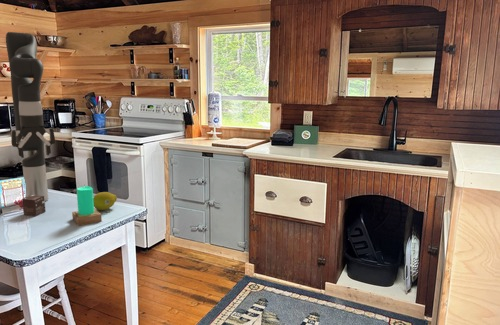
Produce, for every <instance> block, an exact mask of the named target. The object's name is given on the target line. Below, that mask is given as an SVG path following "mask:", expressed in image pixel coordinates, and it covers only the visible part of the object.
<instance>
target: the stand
mask: <svg viewBox="0 0 500 325" xmlns="http://www.w3.org/2000/svg"><path fill="white" fill-rule="evenodd" d="M71 214H72V220H73V221H74V222H75V224H76V225H77V226H78V227H80V226H83V225H90V224H95V223H98V222H102V213H100V212H99V210H97V209H96V208H95V207H94V213H93V214H90V215H79V214H78V210H77V211H72V212H71Z"/></svg>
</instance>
